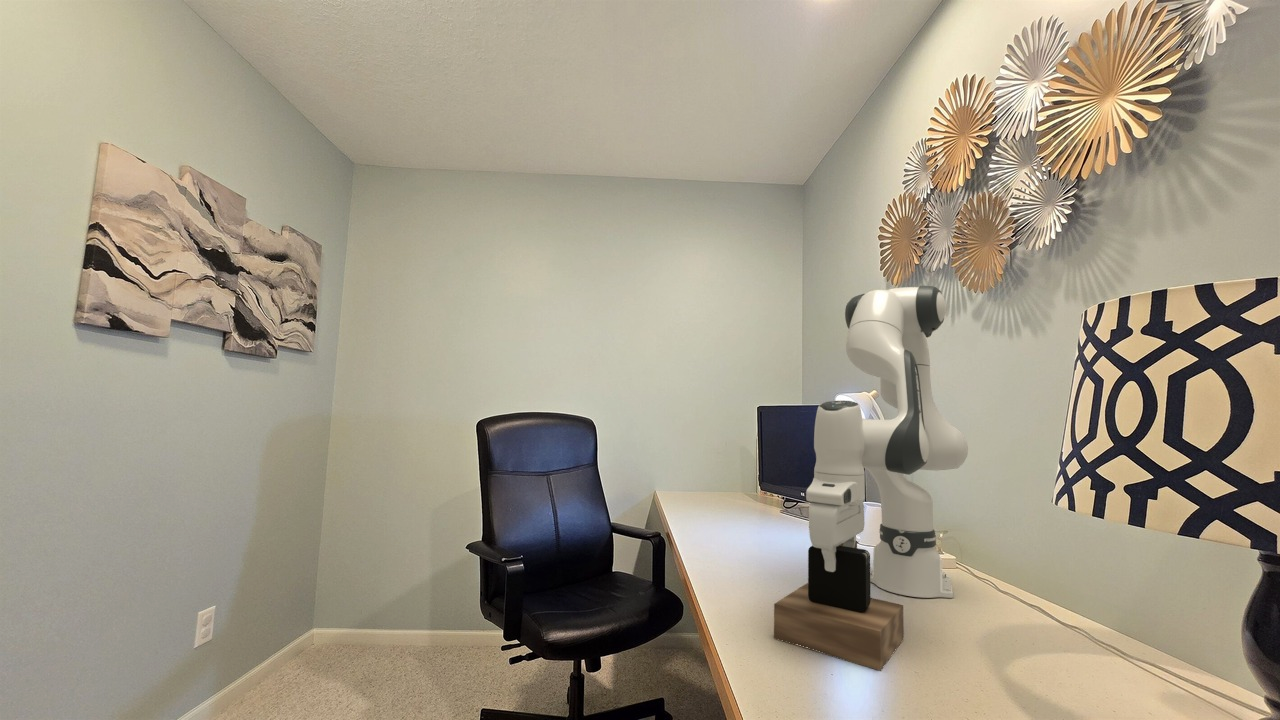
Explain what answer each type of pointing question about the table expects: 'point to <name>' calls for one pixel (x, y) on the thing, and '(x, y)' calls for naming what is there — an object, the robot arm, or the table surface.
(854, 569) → the electronic device
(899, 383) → the robot arm
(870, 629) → the walnut box
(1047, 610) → the table surface
